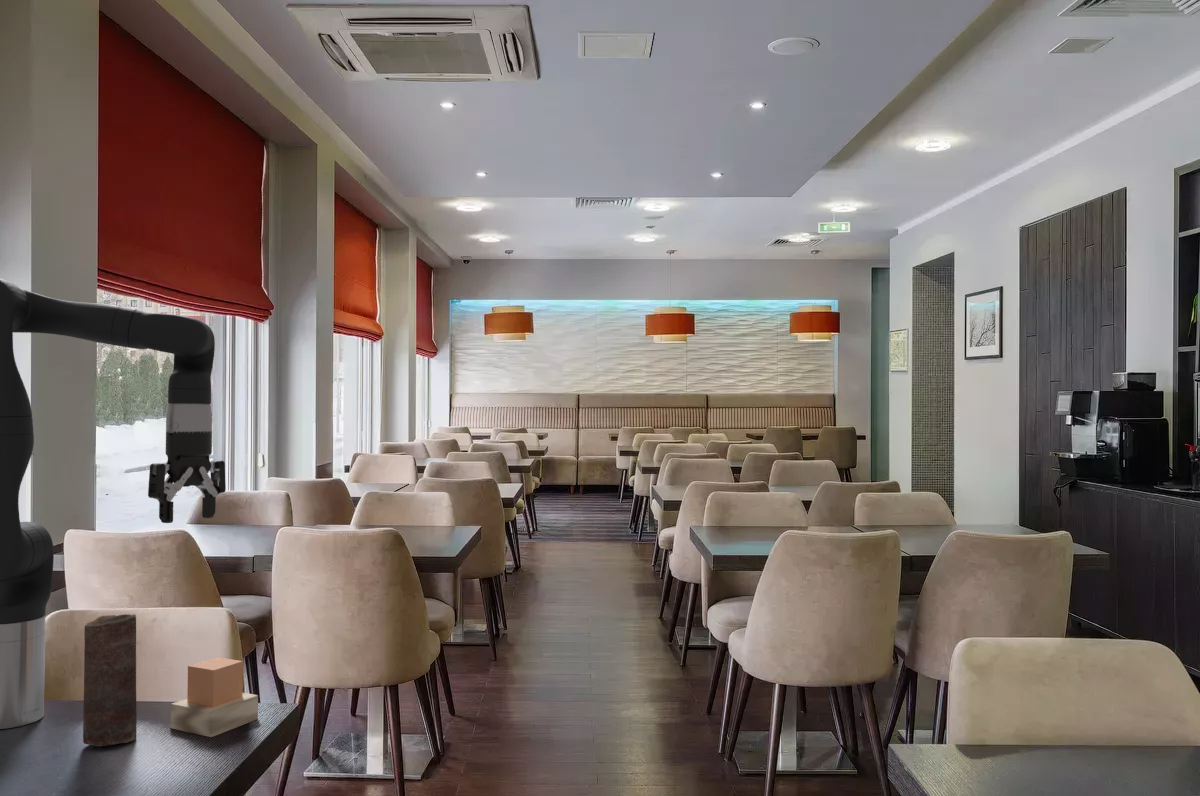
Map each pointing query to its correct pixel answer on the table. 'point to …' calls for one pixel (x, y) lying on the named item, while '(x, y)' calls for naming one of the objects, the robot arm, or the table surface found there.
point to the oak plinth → (214, 715)
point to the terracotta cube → (215, 681)
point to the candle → (110, 681)
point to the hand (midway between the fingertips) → (187, 520)
